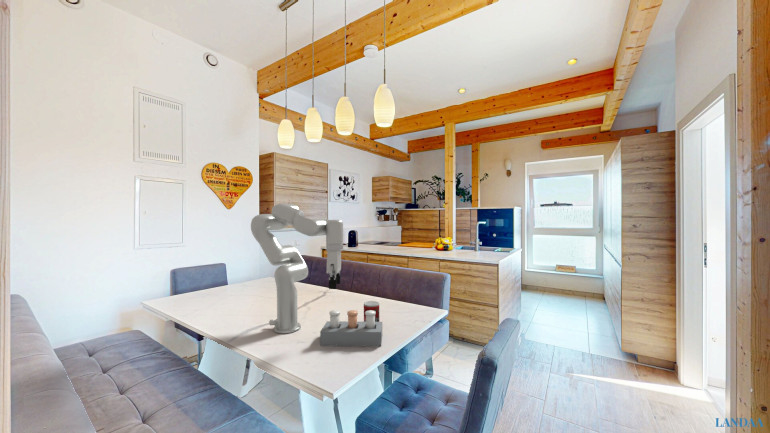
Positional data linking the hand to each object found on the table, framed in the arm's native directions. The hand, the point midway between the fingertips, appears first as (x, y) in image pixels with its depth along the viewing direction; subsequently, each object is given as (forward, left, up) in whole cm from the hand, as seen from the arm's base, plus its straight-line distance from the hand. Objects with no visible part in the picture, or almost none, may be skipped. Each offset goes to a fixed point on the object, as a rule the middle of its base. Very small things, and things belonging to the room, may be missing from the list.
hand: (334, 286), depth 130 cm
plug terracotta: (+8, 0, -19) cm, 21 cm away
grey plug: (+16, 0, -19) cm, 25 cm away
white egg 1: (0, 0, -19) cm, 19 cm away
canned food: (+15, +18, -24) cm, 34 cm away
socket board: (+8, 0, -24) cm, 25 cm away
